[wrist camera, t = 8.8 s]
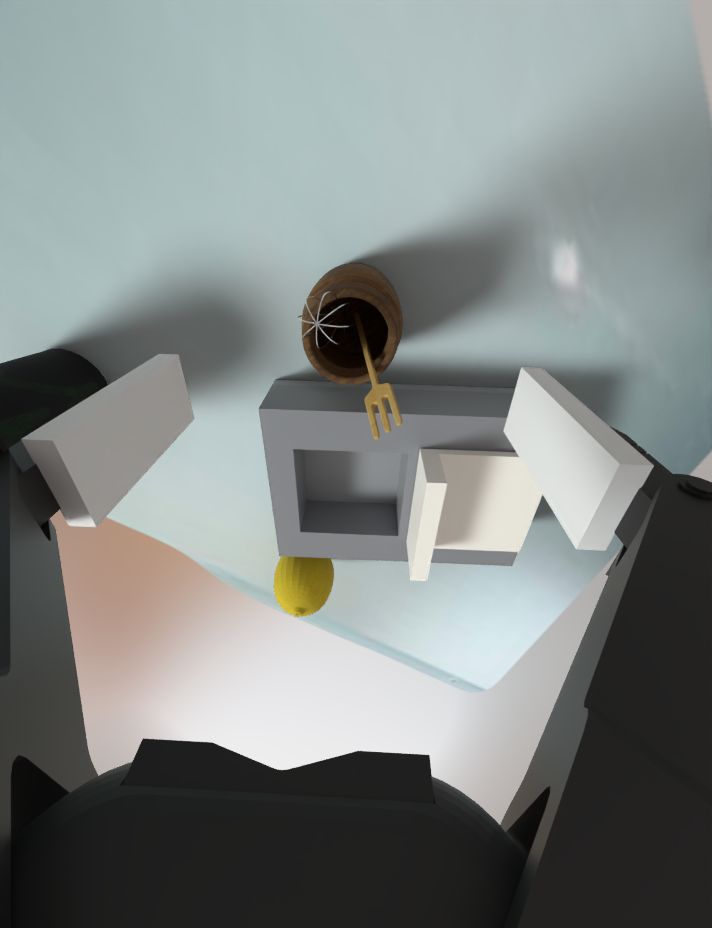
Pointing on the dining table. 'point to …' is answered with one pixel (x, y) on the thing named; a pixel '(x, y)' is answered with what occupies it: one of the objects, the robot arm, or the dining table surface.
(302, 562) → the lemon
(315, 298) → the utensil holder
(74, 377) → the cup
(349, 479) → the socket block
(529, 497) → the panel
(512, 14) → the dining table surface
